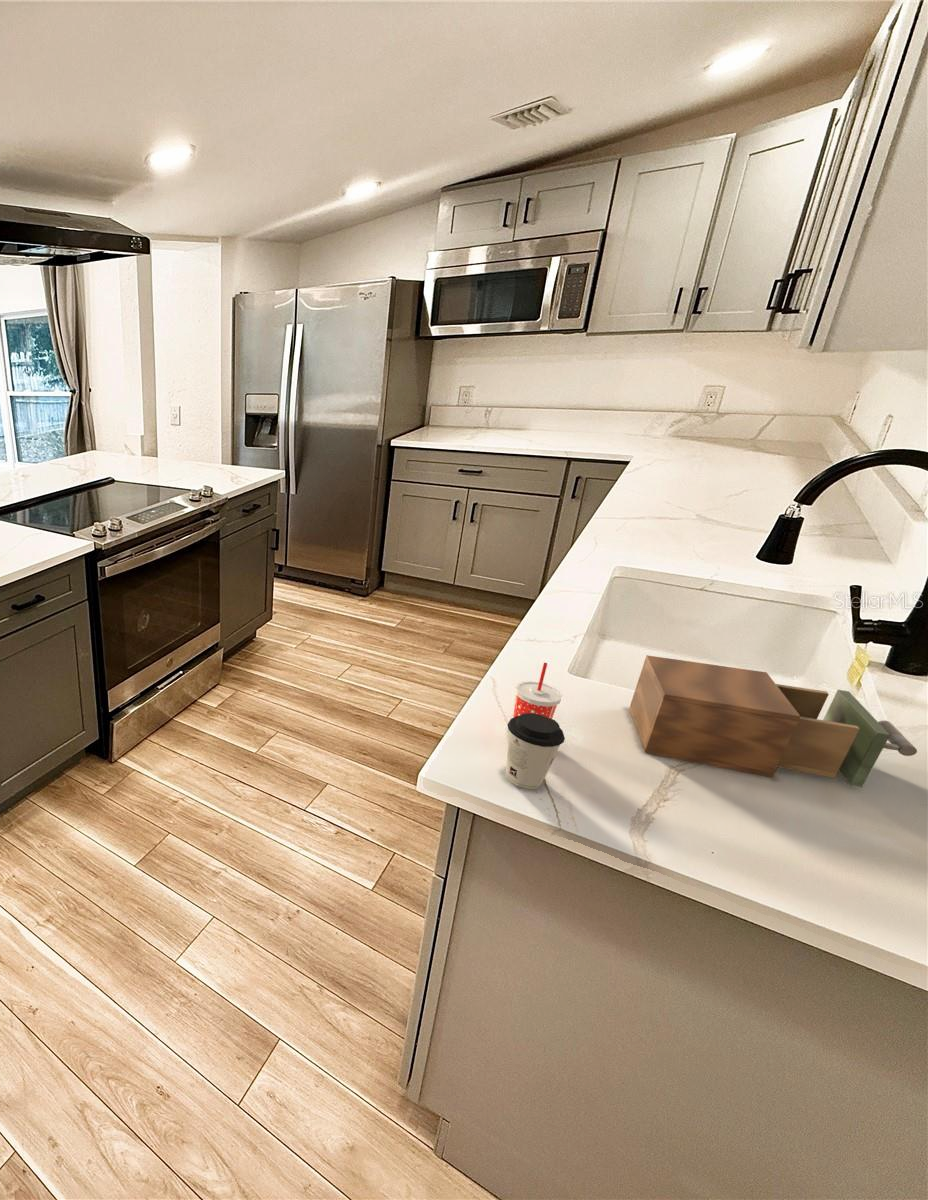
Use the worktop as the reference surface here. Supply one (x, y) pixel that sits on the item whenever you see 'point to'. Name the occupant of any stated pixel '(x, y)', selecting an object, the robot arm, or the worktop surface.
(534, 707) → the beverage cup
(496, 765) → the worktop surface
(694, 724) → the cabinet
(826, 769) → the drawer
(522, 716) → the coffee cup
